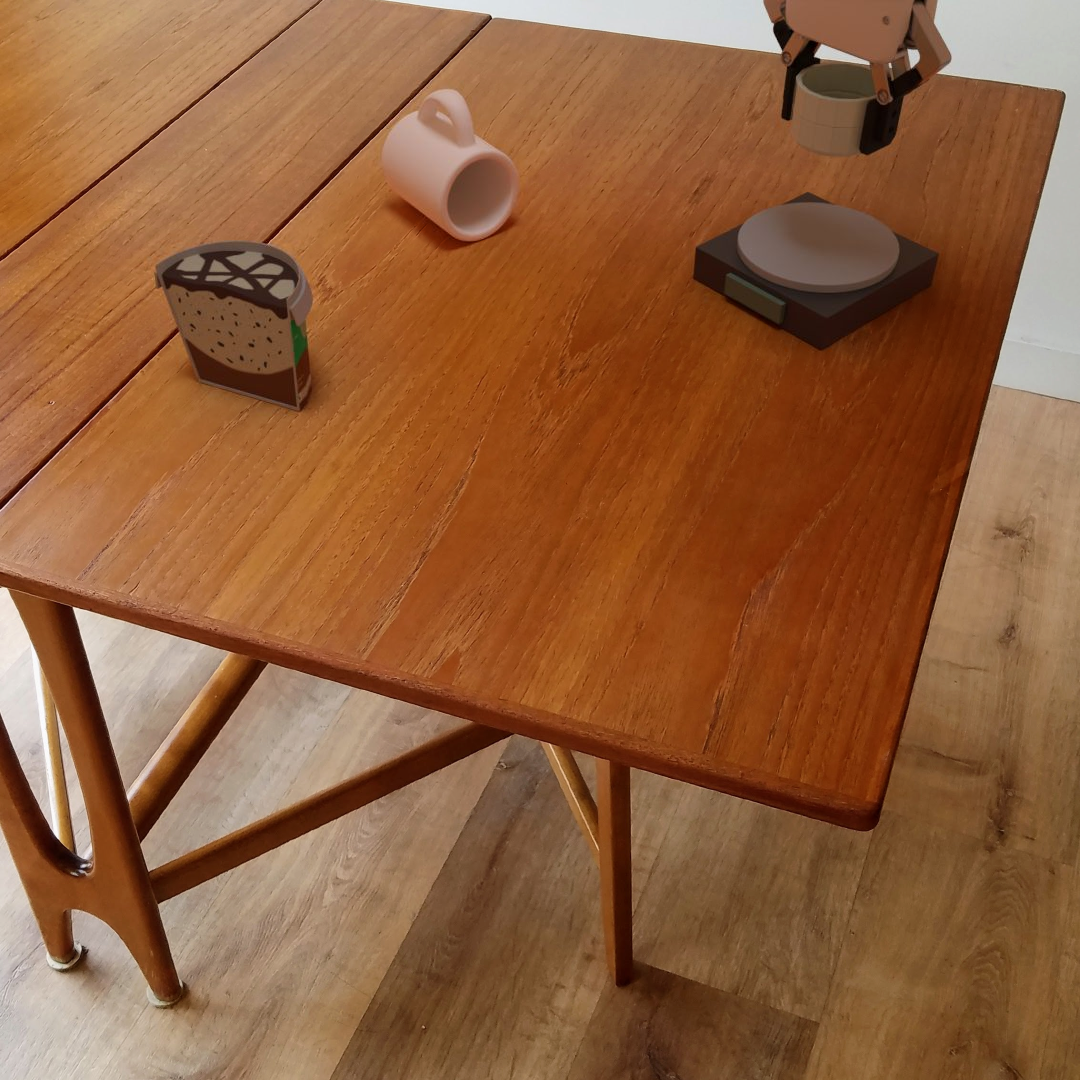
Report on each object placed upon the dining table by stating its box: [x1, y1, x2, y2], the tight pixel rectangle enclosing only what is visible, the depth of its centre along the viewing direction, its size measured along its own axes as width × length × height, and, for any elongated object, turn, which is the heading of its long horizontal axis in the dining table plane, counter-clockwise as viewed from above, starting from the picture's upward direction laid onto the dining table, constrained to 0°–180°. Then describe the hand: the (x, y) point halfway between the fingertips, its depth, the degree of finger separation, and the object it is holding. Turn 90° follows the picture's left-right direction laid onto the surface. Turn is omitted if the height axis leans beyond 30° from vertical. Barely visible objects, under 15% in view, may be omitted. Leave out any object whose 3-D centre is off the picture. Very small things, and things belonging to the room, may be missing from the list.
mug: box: [380, 88, 520, 242], centre depth 102 cm, size 8×10×12 cm
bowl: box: [788, 61, 876, 158], centre depth 87 cm, size 7×7×4 cm
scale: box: [692, 191, 940, 351], centre depth 95 cm, size 14×14×4 cm
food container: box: [153, 240, 314, 413], centre depth 86 cm, size 12×6×10 cm, turn 65°
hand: (835, 129), depth 88 cm, fingers closed on bowl, 6 cm apart
